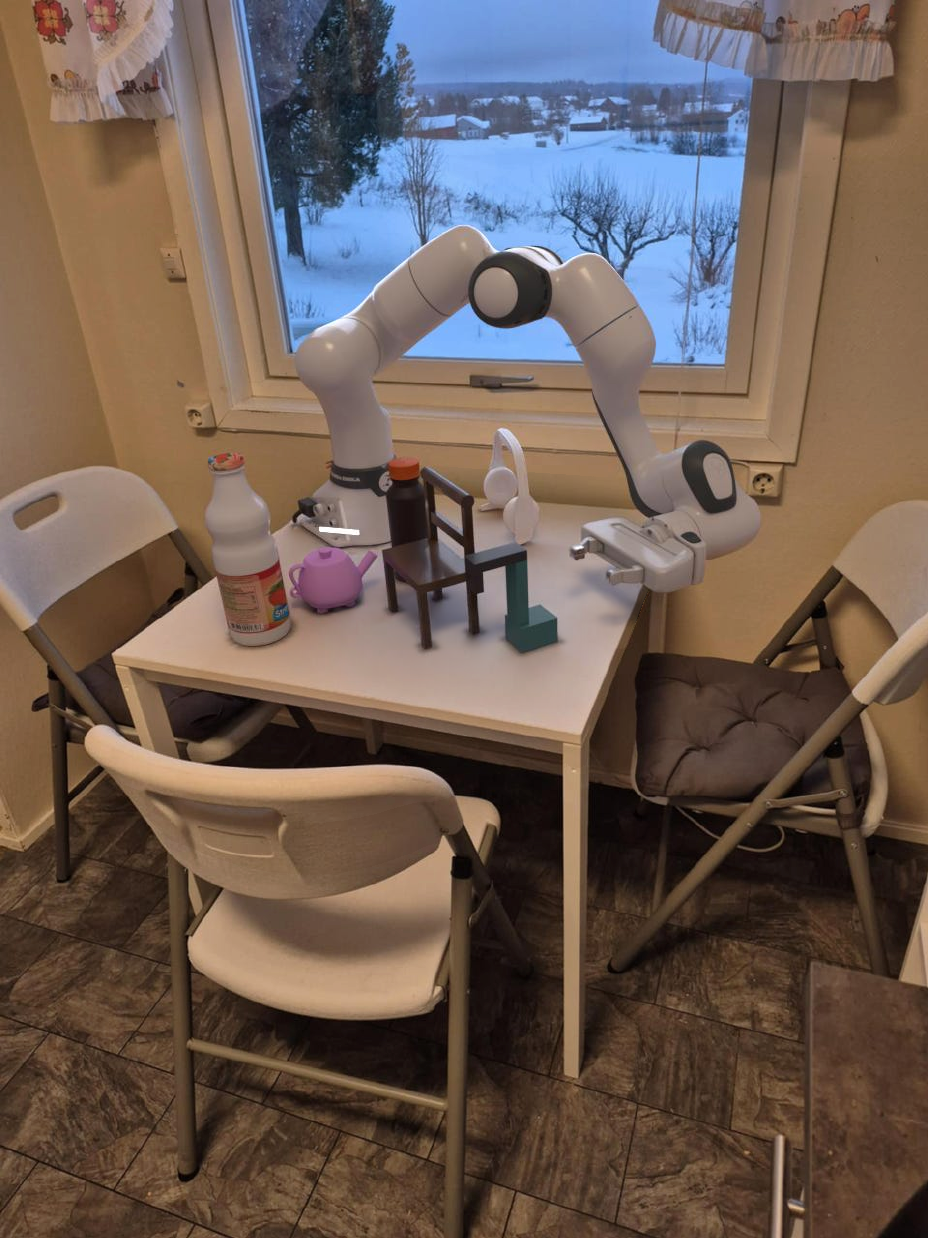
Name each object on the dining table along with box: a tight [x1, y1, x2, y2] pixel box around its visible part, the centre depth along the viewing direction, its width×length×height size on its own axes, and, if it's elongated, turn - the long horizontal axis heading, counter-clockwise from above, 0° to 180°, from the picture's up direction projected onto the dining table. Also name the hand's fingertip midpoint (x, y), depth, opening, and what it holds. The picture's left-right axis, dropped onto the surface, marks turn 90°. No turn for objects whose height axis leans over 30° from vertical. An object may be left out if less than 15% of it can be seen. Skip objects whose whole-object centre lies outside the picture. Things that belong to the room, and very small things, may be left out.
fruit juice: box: [204, 451, 292, 647], centre depth 125 cm, size 9×9×28 cm
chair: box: [381, 466, 481, 650], centre depth 126 cm, size 9×14×22 cm
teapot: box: [288, 546, 378, 614], centre depth 137 cm, size 10×15×9 cm
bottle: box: [386, 456, 428, 583], centre depth 141 cm, size 7×7×20 cm
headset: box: [480, 427, 541, 546], centre depth 157 cm, size 20×7×18 cm, turn 12°
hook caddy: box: [463, 541, 559, 654], centre depth 120 cm, size 12×5×16 cm, turn 117°
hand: (589, 565), depth 124 cm, fingers open, 8 cm apart
